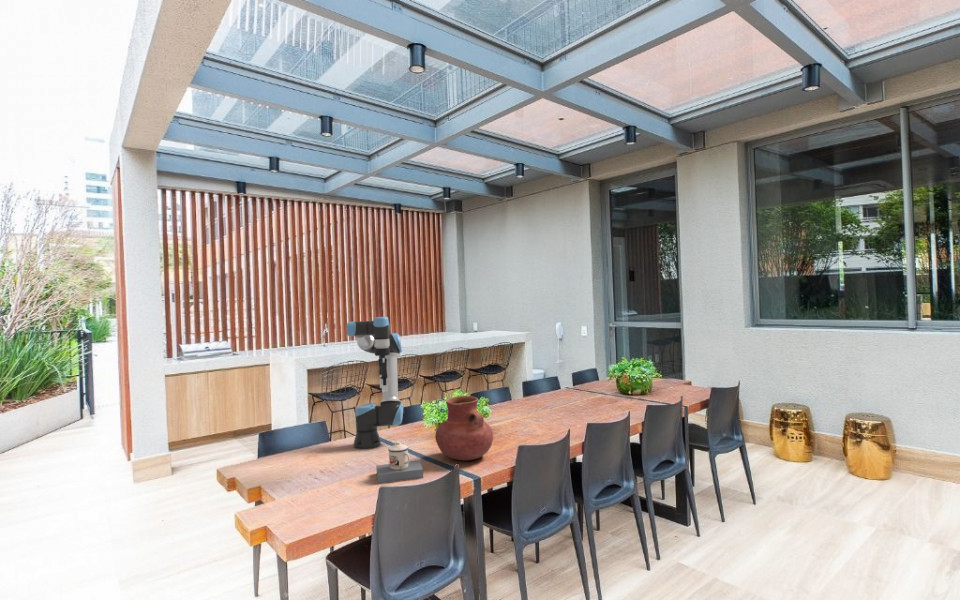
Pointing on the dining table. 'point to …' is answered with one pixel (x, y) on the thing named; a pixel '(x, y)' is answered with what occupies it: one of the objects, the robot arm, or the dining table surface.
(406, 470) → the serving riser
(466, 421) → the clay pot
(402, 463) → the teacup with lid
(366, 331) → the robot arm
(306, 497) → the dining table surface
